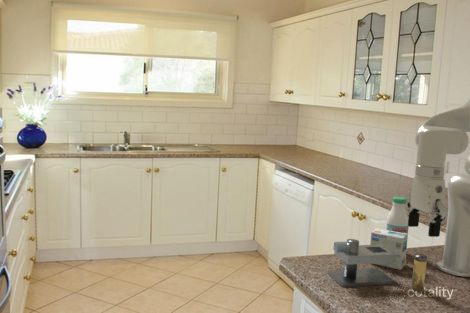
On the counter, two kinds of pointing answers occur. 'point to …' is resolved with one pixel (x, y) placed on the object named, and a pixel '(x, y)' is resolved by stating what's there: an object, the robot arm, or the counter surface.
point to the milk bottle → (398, 216)
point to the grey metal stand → (361, 255)
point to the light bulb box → (391, 245)
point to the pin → (419, 272)
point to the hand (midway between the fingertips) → (423, 231)
